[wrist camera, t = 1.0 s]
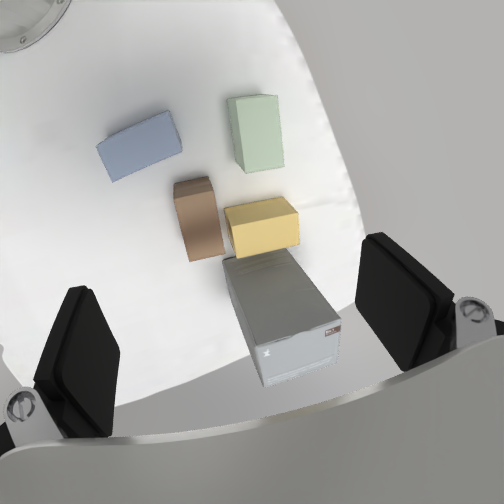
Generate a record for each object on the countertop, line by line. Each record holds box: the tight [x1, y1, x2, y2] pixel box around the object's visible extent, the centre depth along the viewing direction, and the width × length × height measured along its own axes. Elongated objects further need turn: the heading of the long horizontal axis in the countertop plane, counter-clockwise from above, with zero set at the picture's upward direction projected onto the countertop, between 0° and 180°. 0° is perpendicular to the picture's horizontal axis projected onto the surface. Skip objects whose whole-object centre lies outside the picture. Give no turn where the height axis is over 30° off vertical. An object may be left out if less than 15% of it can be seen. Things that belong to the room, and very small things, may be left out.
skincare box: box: [223, 248, 341, 388], centre depth 33 cm, size 8×7×16 cm
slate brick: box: [96, 110, 182, 183], centre depth 26 cm, size 7×4×5 cm, turn 107°
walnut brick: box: [174, 176, 225, 262], centre depth 32 cm, size 7×4×5 cm, turn 7°
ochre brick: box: [224, 197, 300, 259], centre depth 34 cm, size 7×4×5 cm, turn 97°
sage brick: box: [227, 94, 284, 174], centre depth 28 cm, size 7×4×5 cm, turn 7°
